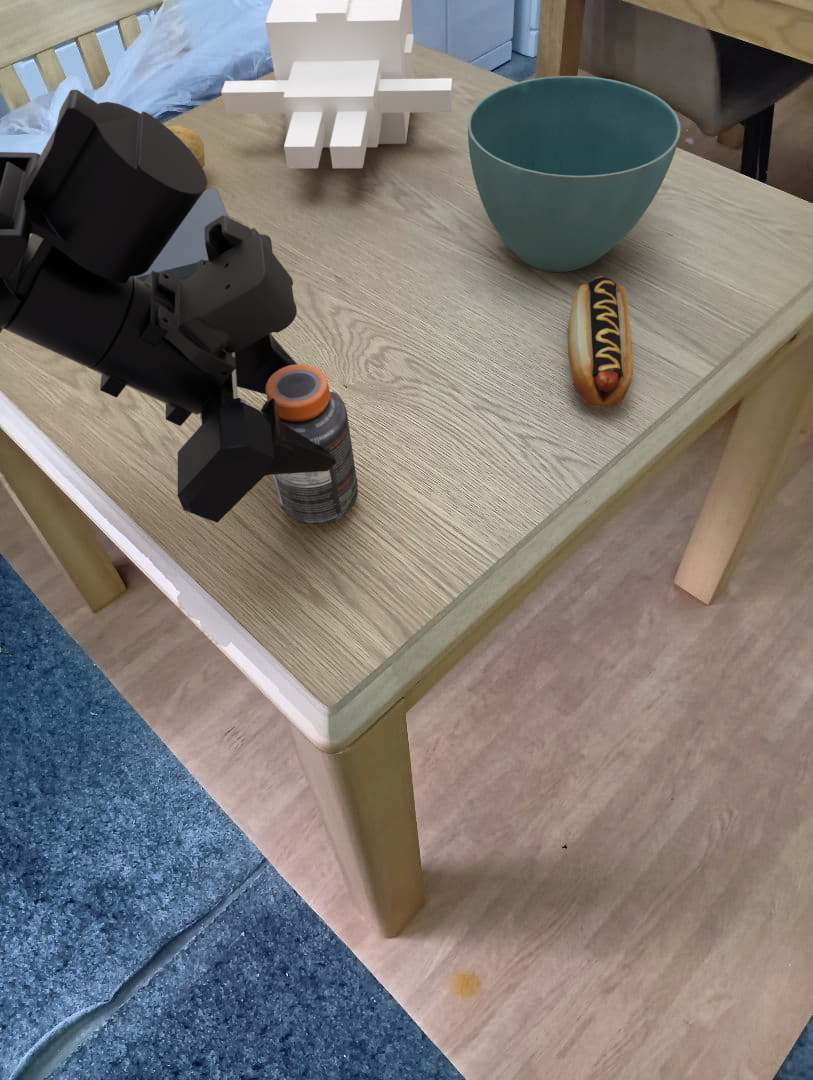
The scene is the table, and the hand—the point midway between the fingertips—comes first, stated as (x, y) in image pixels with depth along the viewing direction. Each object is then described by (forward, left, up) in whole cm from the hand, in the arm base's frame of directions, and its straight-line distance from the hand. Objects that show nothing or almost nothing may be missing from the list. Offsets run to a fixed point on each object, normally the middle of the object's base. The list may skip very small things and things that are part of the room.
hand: (327, 432), depth 54 cm
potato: (-5, +51, -8) cm, 52 cm away
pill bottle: (-1, 0, -7) cm, 7 cm away
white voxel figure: (+17, +52, -8) cm, 55 cm away
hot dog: (+25, +6, -8) cm, 27 cm away
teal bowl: (+30, +23, -8) cm, 39 cm away
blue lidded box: (-7, +34, -8) cm, 36 cm away
